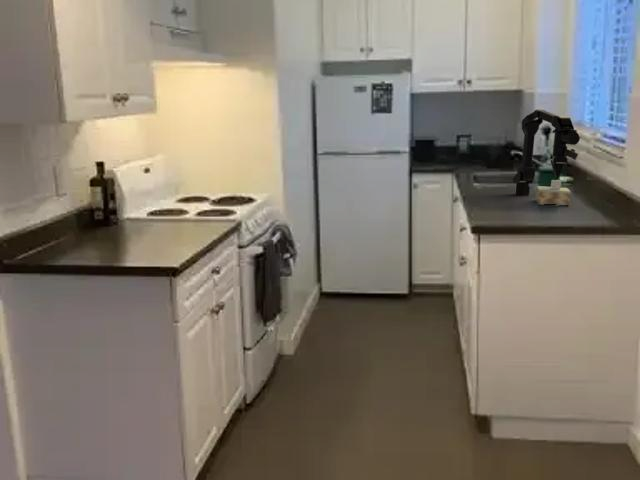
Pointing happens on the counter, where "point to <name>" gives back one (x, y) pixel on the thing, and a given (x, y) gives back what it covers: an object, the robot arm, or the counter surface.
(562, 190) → the lid
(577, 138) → the robot arm
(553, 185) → the block
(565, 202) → the box
